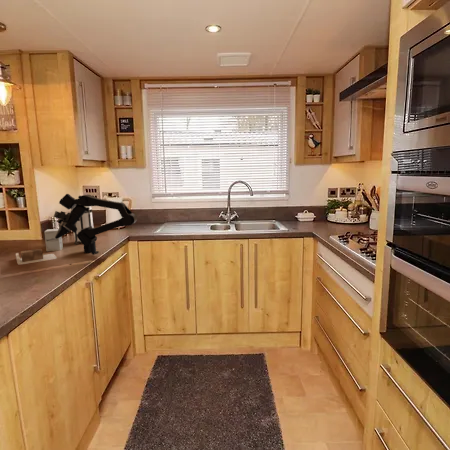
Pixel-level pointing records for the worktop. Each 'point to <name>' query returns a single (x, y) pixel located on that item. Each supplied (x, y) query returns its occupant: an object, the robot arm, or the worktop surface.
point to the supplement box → (52, 240)
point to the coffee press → (83, 223)
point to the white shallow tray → (45, 257)
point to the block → (31, 255)
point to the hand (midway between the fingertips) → (55, 238)
